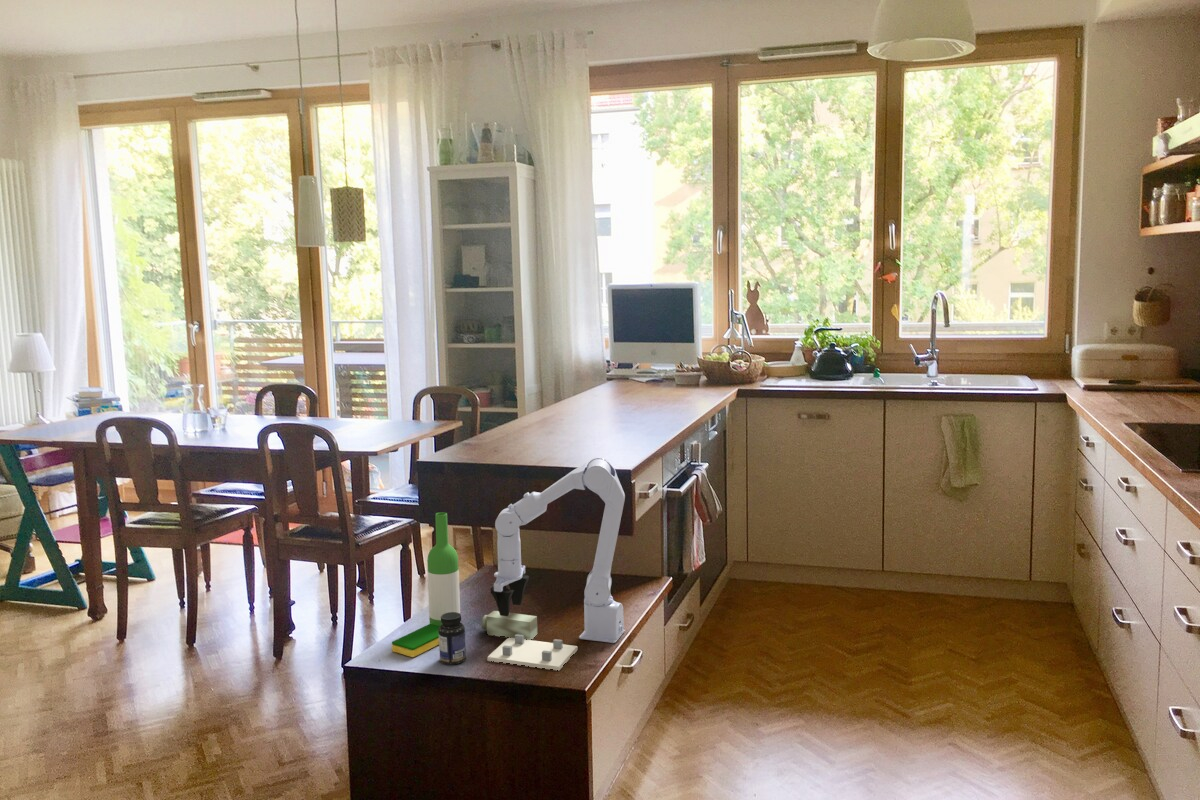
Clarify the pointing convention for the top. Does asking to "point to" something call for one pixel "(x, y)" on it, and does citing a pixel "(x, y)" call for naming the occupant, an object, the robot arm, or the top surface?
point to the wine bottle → (442, 574)
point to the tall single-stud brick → (510, 625)
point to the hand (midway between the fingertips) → (510, 609)
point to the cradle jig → (533, 653)
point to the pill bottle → (452, 639)
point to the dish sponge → (417, 641)
